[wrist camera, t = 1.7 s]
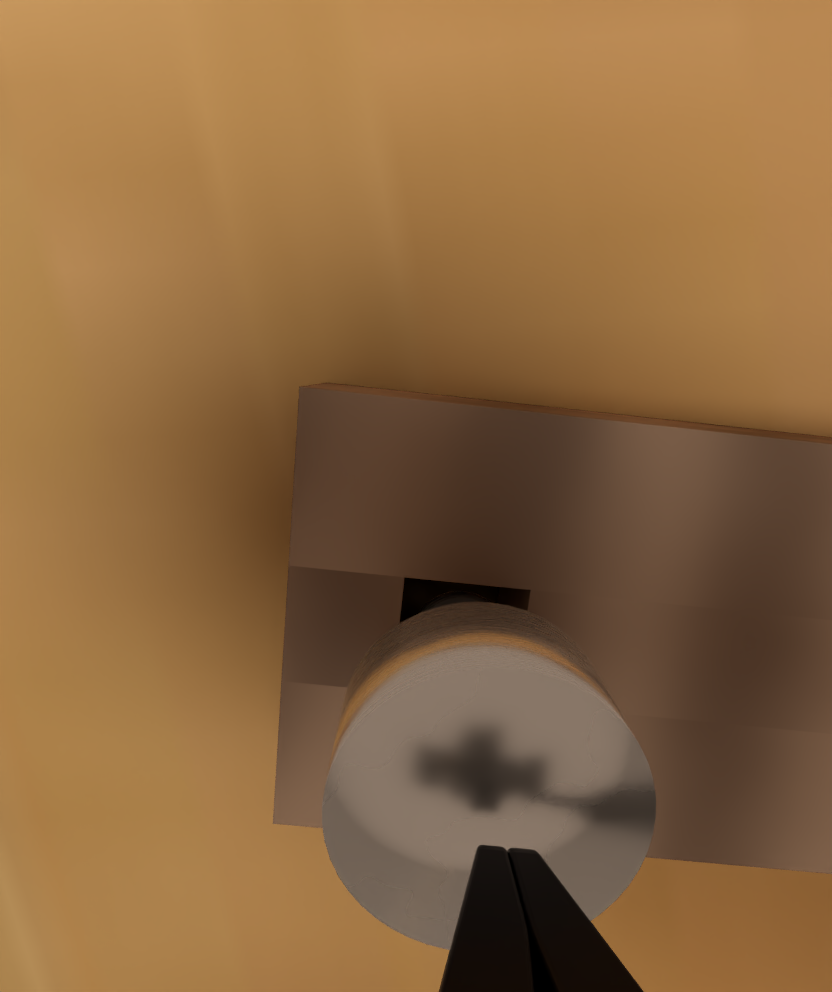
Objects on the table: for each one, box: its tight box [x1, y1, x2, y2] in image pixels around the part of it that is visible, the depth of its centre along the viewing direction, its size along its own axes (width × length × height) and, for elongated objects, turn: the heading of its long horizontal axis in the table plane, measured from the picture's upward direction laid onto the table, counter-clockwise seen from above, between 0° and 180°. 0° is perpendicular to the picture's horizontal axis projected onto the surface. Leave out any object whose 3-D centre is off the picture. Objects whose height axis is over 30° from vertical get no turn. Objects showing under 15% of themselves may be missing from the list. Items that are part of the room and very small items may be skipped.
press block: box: [273, 383, 832, 874], centre depth 17 cm, size 24×12×4 cm, turn 84°
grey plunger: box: [322, 591, 656, 950], centre depth 12 cm, size 5×5×6 cm
